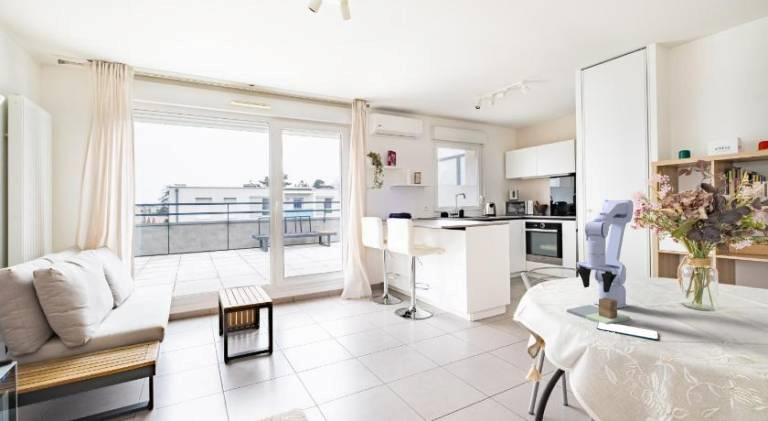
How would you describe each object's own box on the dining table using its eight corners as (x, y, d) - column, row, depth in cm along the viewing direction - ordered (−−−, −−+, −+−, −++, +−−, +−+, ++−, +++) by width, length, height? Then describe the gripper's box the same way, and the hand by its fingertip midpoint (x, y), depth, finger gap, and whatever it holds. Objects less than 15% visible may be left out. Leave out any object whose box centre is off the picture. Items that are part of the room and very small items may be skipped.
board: (589, 307, 135) (589, 304, 135) (629, 319, 121) (629, 316, 121) (566, 312, 130) (566, 309, 130) (605, 325, 116) (605, 322, 116)
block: (605, 313, 124) (605, 297, 124) (617, 317, 121) (617, 300, 120) (598, 315, 123) (598, 299, 123) (609, 318, 119) (610, 302, 119)
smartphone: (596, 330, 113) (658, 342, 103) (596, 328, 113) (658, 339, 103) (599, 323, 119) (657, 334, 109) (599, 321, 119) (657, 331, 109)
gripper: (571, 251, 131) (571, 286, 132) (609, 257, 118) (609, 295, 118) (583, 250, 134) (583, 284, 135) (621, 255, 121) (621, 293, 121)
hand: (596, 289), depth 127 cm, fingers open, 7 cm apart
